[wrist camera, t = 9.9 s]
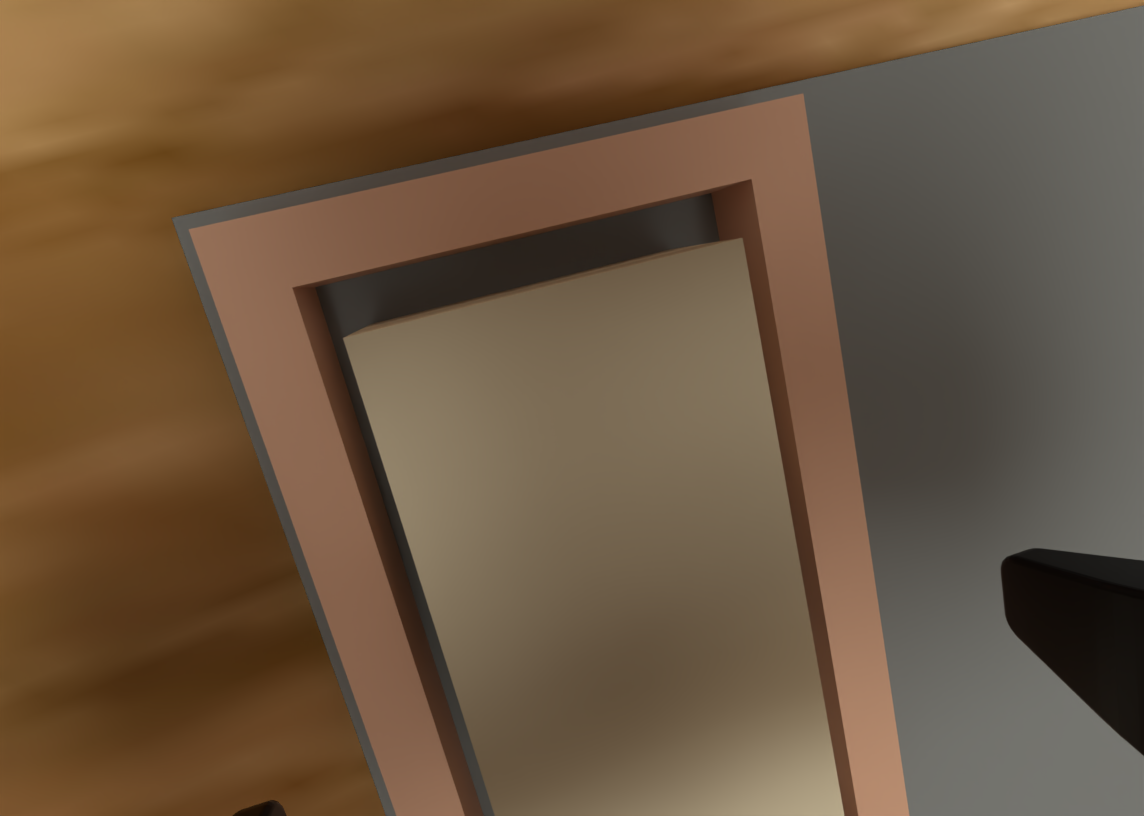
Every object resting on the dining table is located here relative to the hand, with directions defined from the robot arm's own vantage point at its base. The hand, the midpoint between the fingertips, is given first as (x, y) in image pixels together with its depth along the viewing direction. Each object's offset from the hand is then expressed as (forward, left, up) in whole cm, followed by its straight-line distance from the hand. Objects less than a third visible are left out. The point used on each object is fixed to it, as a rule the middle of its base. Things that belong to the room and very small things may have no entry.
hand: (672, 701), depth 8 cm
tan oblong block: (0, 0, -3) cm, 3 cm away
